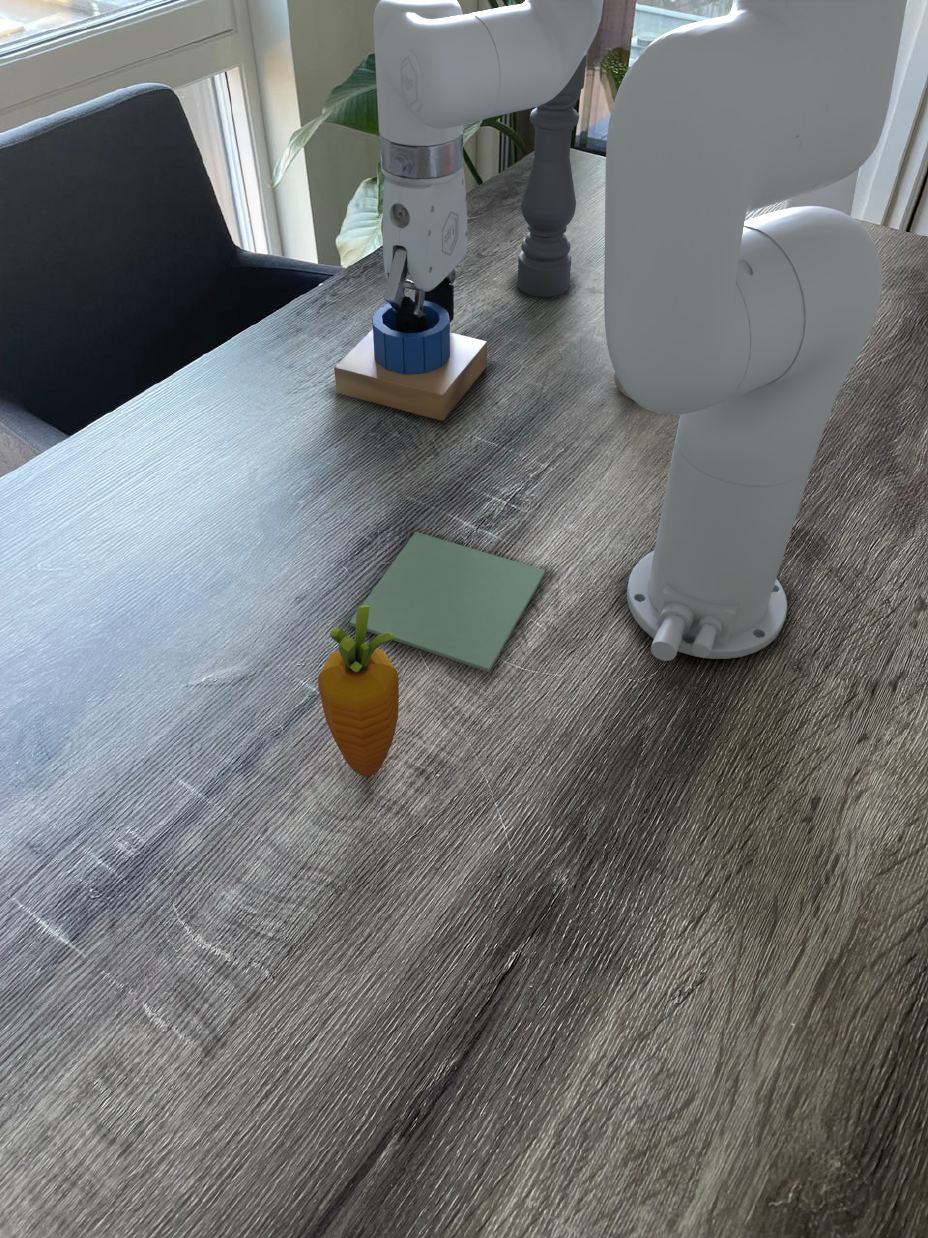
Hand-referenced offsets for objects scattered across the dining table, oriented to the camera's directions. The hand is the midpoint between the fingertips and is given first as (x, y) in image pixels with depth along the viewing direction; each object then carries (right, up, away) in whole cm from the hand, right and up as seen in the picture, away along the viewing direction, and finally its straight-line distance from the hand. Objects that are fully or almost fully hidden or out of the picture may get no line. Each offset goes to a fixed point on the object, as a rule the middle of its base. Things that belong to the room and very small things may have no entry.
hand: (425, 331), depth 103 cm
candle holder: (+13, +10, +15) cm, 23 cm away
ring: (-1, -3, -1) cm, 3 cm away
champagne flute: (+37, -3, +3) cm, 37 cm away
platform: (-1, -5, +1) cm, 5 cm away
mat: (+3, -28, -22) cm, 36 cm away
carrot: (-3, -41, -34) cm, 53 cm away
